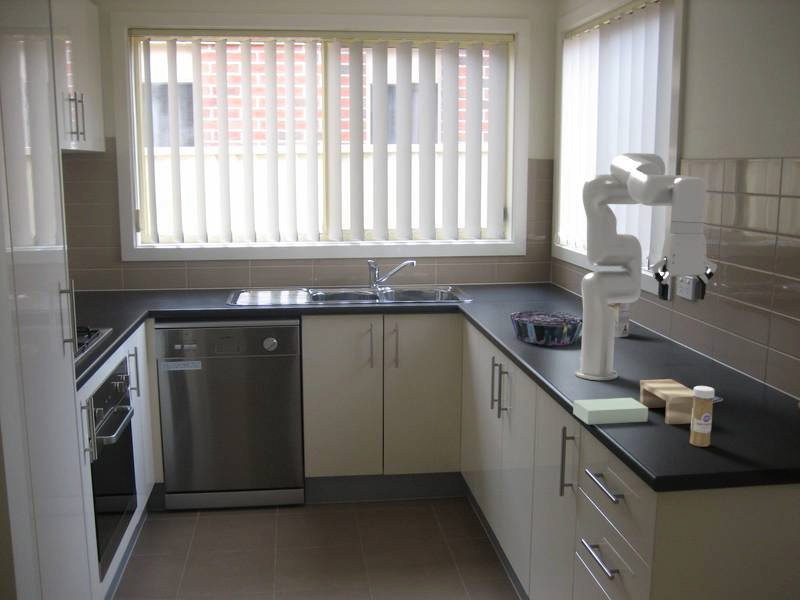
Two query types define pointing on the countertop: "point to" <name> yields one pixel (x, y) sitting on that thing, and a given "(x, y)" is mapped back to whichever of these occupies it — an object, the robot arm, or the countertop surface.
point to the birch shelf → (668, 399)
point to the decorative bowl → (547, 327)
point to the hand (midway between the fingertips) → (681, 299)
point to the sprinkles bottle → (701, 416)
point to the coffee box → (621, 318)
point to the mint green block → (610, 411)
